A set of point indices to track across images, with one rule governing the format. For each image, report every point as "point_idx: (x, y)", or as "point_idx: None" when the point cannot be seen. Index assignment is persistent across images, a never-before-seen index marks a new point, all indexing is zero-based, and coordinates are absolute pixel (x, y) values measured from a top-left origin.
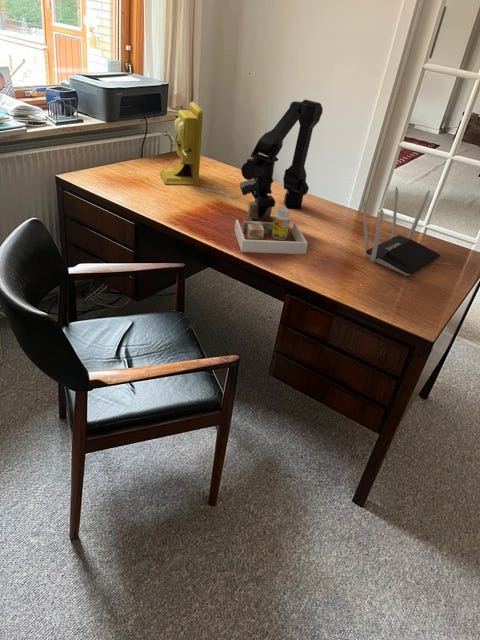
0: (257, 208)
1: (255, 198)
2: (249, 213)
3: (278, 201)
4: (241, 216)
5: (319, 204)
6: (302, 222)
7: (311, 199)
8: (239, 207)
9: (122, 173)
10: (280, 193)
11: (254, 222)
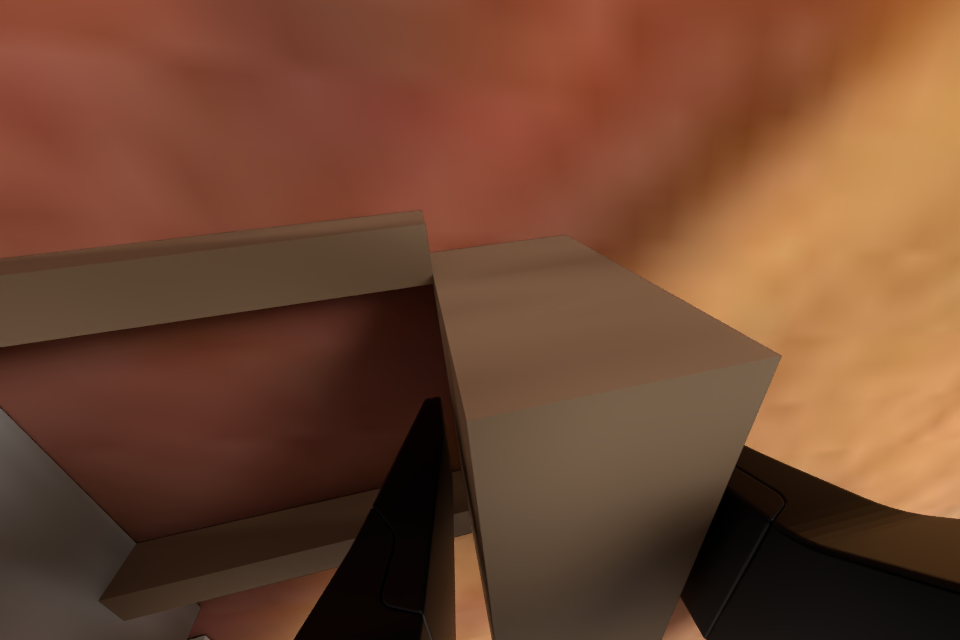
0: (469, 484)
1: (836, 558)
2: (457, 281)
3: (845, 482)
4: (519, 125)
5: None
6: (475, 633)
7: None
8: (856, 121)
9: None
10: (953, 478)
11: None
